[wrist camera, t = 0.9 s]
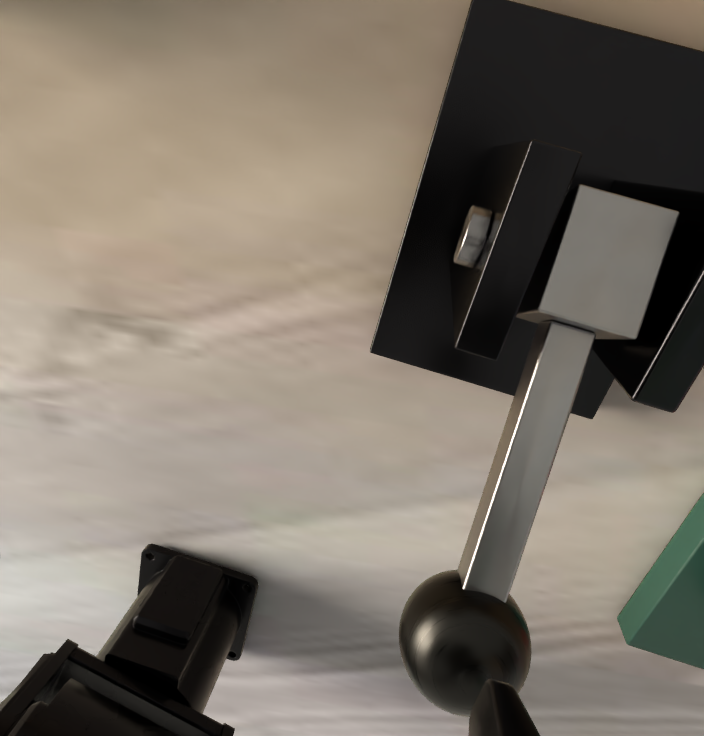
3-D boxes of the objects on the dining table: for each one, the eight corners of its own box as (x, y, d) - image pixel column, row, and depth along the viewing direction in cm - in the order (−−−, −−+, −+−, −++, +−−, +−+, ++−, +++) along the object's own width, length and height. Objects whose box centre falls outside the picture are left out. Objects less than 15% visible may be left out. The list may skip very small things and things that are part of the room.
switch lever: (492, 675, 14) (522, 772, 11) (383, 638, 14) (382, 725, 11) (638, 242, 13) (719, 212, 10) (520, 209, 13) (562, 169, 10)
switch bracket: (584, 406, 20) (676, 567, 12) (372, 342, 21) (329, 459, 13) (755, 76, 15) (1093, -10, 7) (472, 1, 16) (502, -155, 8)
